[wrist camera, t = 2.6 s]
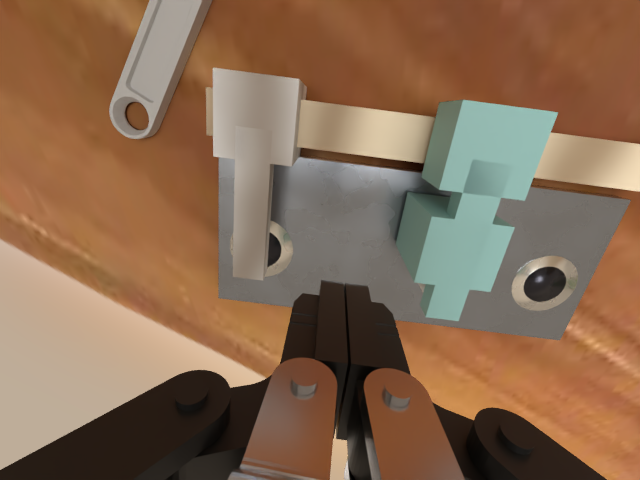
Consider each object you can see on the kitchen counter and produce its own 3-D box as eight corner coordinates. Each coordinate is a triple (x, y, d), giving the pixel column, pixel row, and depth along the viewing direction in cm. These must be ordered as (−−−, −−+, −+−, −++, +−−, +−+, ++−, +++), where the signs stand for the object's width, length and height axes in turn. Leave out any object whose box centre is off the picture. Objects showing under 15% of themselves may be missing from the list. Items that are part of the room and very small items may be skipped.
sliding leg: (389, 272, 22) (404, 317, 17) (428, 103, 18) (463, 99, 13) (446, 279, 22) (477, 325, 17) (497, 112, 18) (558, 112, 13)
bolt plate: (223, 291, 24) (218, 299, 23) (223, 145, 20) (218, 146, 19) (551, 331, 25) (560, 341, 24) (617, 196, 21) (632, 200, 20)
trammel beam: (223, 243, 23) (197, 274, 18) (224, 76, 19) (191, 64, 14) (572, 287, 23) (630, 328, 19) (648, 132, 19) (744, 137, 15)
